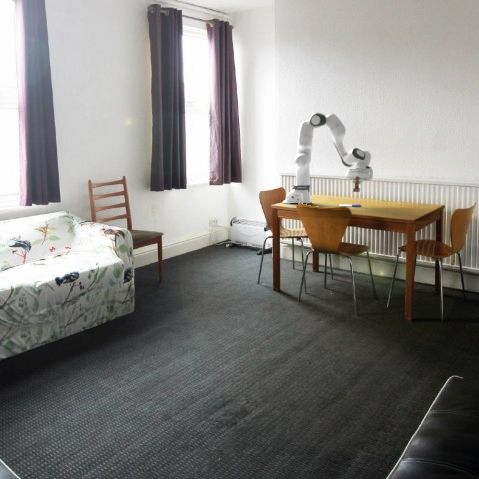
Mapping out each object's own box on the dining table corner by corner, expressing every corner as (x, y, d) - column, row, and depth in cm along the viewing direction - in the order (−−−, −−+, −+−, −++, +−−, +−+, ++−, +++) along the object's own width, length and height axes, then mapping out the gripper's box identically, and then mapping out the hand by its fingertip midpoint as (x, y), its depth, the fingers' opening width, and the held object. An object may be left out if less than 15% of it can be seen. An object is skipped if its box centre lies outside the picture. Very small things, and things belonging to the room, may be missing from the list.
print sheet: (338, 206, 433) (338, 205, 433) (340, 204, 441) (340, 204, 441) (351, 206, 430) (351, 206, 430) (352, 204, 439) (352, 204, 439)
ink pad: (351, 206, 430) (351, 205, 429) (352, 205, 437) (352, 203, 437) (359, 206, 428) (359, 205, 428) (360, 205, 436) (360, 203, 435)
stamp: (353, 191, 429) (353, 176, 427) (353, 191, 433) (354, 176, 431) (359, 191, 428) (359, 176, 426) (359, 191, 432) (360, 176, 430)
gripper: (347, 166, 438) (342, 180, 432) (373, 167, 428) (368, 181, 421) (349, 171, 443) (344, 185, 436) (375, 172, 432) (370, 186, 426)
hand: (356, 183), depth 429 cm, fingers closed on stamp, 3 cm apart
